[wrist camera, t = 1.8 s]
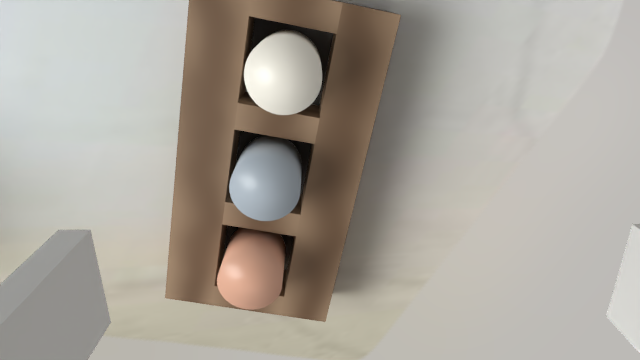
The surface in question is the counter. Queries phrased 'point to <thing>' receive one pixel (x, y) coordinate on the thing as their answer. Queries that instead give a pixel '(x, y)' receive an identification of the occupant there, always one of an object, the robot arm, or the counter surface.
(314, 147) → the console
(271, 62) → the button cream
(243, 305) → the button terracotta
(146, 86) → the counter surface
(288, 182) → the button slate
